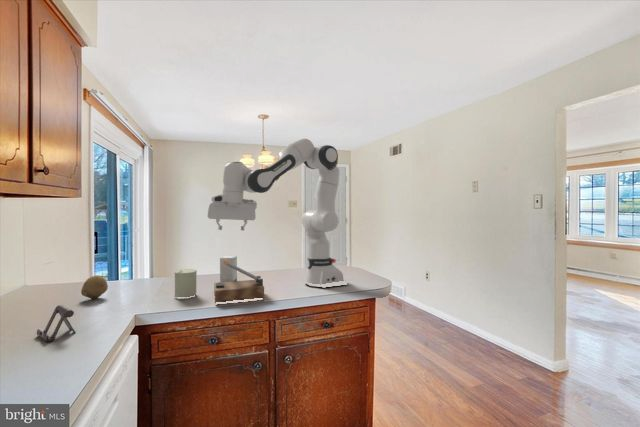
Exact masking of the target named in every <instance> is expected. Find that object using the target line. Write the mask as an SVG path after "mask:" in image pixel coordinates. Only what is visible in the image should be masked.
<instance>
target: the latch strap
mask: <svg viewBox="0 0 640 427" xmlns="http://www.w3.org/2000/svg"><path fill="white" fill-rule="evenodd" d="M222 263H223V264H225V265H227V266H229V267H231V268H233V269H235V270H237V272H239V273H240V274H243V275H245V276H246V277H249V278H251V279H252V280H257V281H258V279H262V278H260V277H256V276H257V275H254V274H252V273H251V272H248V271H246V270H244V269H242V268H240V267H239V266H238V265H237V266H235V265H233V264H231V263H229V262H228V260H226V259H223V261H222Z"/></svg>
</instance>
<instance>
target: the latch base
mask: <svg viewBox="0 0 640 427" xmlns="http://www.w3.org/2000/svg"><path fill="white" fill-rule="evenodd" d="M255 276H256V277H260V278H261V275H255ZM263 282H264V280H263V278H261V279H258V281H257V280H255V279H248V280H237V281H232V282H220V281H219V282H214V284H213V286H214V287H213V288H214V289H213V295H214V296H215V298H214V304H215V303H216V302H226V301H233V300H244V299H254V298H264V299H265V286H264V283H263Z"/></svg>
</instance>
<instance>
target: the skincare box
mask: <svg viewBox="0 0 640 427" xmlns="http://www.w3.org/2000/svg"><path fill="white" fill-rule="evenodd" d="M223 259H226V260H228V262H229V263H231V264H233V265H235V266H237V267H238V256H237V255H224V256H221V257H220V258H219V280H220V281H219V282H232V281H238V271H237V270H235V269H233V268H231V267H229V266H227V265H225V264H223V263H222V261H223Z"/></svg>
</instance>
